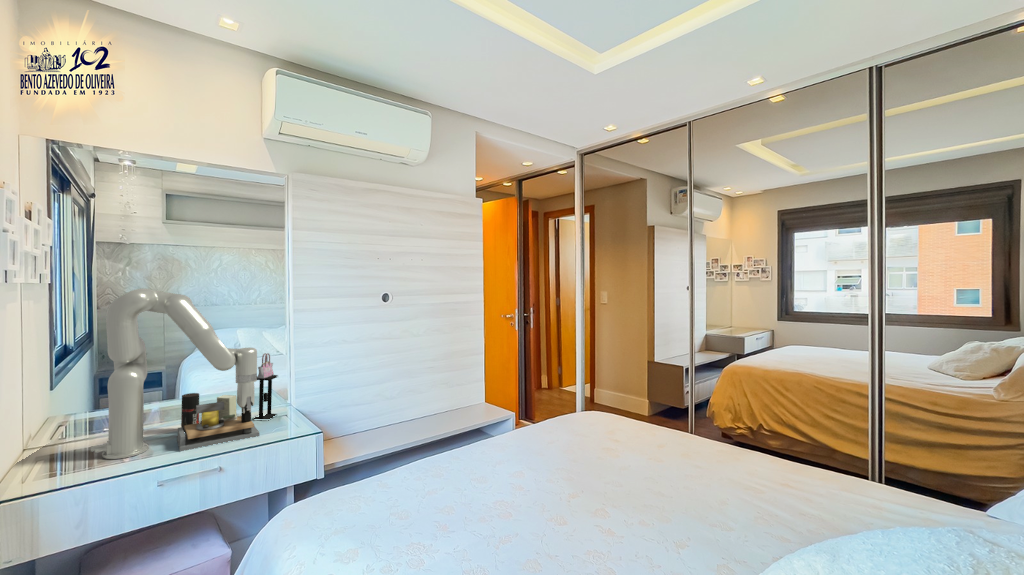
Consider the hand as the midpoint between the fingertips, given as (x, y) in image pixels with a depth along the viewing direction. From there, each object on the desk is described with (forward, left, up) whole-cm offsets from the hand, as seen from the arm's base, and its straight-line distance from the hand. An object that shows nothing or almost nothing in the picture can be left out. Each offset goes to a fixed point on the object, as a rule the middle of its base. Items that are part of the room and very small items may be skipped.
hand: (246, 421), depth 178 cm
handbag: (+11, +18, -6) cm, 22 cm away
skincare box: (-4, +19, -6) cm, 20 cm away
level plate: (-9, +2, -1) cm, 9 cm away
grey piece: (-9, +2, -5) cm, 11 cm away
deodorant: (-17, +18, -6) cm, 26 cm away
